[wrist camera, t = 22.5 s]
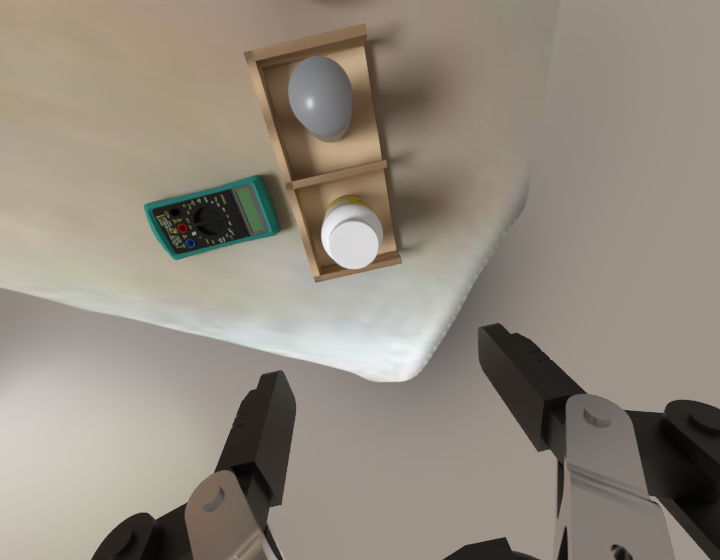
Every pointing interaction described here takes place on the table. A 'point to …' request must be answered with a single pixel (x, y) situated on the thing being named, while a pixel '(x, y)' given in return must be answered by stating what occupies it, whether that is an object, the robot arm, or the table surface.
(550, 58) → the table surface
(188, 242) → the digital multimeter
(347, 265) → the pill bottle
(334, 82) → the grey cylinder
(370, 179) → the divided wooden tray
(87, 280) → the table surface
